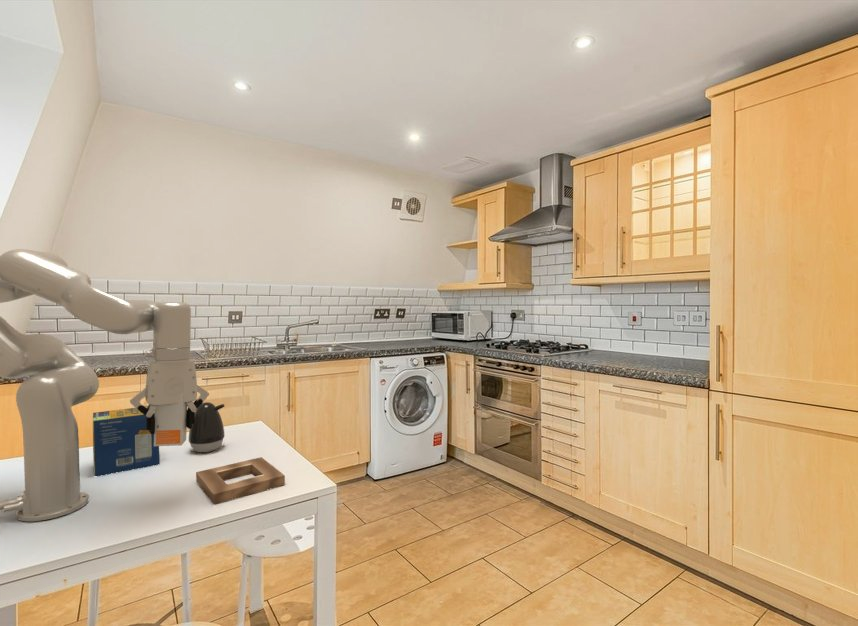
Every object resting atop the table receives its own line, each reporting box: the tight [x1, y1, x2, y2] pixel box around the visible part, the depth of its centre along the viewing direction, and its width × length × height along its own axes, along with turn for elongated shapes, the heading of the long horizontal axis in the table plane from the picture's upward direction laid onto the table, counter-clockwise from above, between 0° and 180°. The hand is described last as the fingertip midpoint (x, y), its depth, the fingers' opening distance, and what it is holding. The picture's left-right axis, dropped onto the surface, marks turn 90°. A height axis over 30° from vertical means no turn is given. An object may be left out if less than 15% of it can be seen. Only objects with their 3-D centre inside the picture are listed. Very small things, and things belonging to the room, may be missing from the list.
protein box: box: [92, 405, 160, 477], centre depth 127 cm, size 10×15×16 cm
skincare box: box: [154, 395, 188, 447], centre depth 103 cm, size 6×4×12 cm
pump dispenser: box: [188, 401, 225, 453], centre depth 140 cm, size 10×10×15 cm
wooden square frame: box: [195, 456, 286, 505], centre depth 115 cm, size 17×17×3 cm
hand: (170, 429), depth 104 cm, fingers closed on skincare box, 7 cm apart
